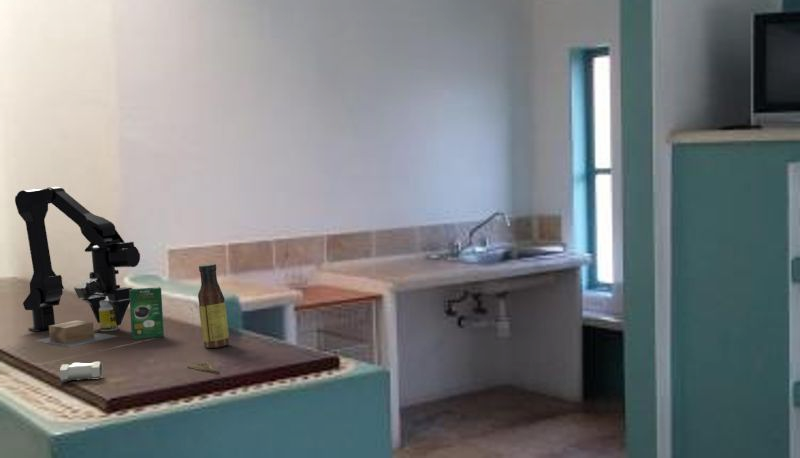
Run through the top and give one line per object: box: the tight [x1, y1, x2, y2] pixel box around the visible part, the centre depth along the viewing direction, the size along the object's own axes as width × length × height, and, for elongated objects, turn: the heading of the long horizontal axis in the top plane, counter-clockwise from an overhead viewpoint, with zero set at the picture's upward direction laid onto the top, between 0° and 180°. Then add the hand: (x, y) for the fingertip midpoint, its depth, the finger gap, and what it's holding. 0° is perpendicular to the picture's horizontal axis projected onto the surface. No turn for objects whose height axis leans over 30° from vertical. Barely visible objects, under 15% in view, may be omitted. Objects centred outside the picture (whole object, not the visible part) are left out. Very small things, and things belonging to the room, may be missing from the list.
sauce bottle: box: [197, 263, 230, 349], centre depth 221 cm, size 6×6×20 cm
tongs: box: [187, 362, 221, 375], centre depth 197 cm, size 4×13×2 cm, turn 41°
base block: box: [48, 320, 95, 343], centre depth 240 cm, size 8×8×4 cm
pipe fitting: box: [59, 361, 104, 383], centre depth 196 cm, size 8×4×7 cm
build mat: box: [33, 332, 118, 348], centre depth 241 cm, size 18×14×1 cm
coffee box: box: [129, 286, 165, 340], centre depth 237 cm, size 8×3×13 cm, turn 110°
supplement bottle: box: [99, 298, 119, 332], centre depth 252 cm, size 5×5×8 cm
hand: (109, 323), depth 252 cm, fingers open, 9 cm apart
